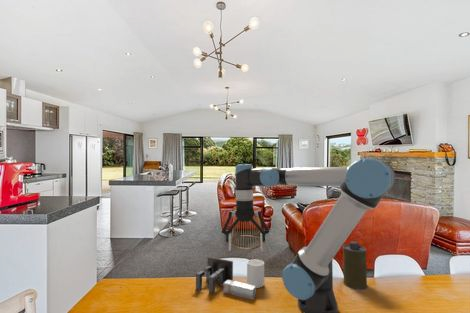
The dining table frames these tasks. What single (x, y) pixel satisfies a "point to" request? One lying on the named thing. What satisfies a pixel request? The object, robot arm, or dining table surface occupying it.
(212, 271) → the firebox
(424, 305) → the dining table surface
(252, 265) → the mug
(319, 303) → the robot arm
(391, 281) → the dining table surface
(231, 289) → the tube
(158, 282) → the dining table surface
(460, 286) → the dining table surface
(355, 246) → the canister
